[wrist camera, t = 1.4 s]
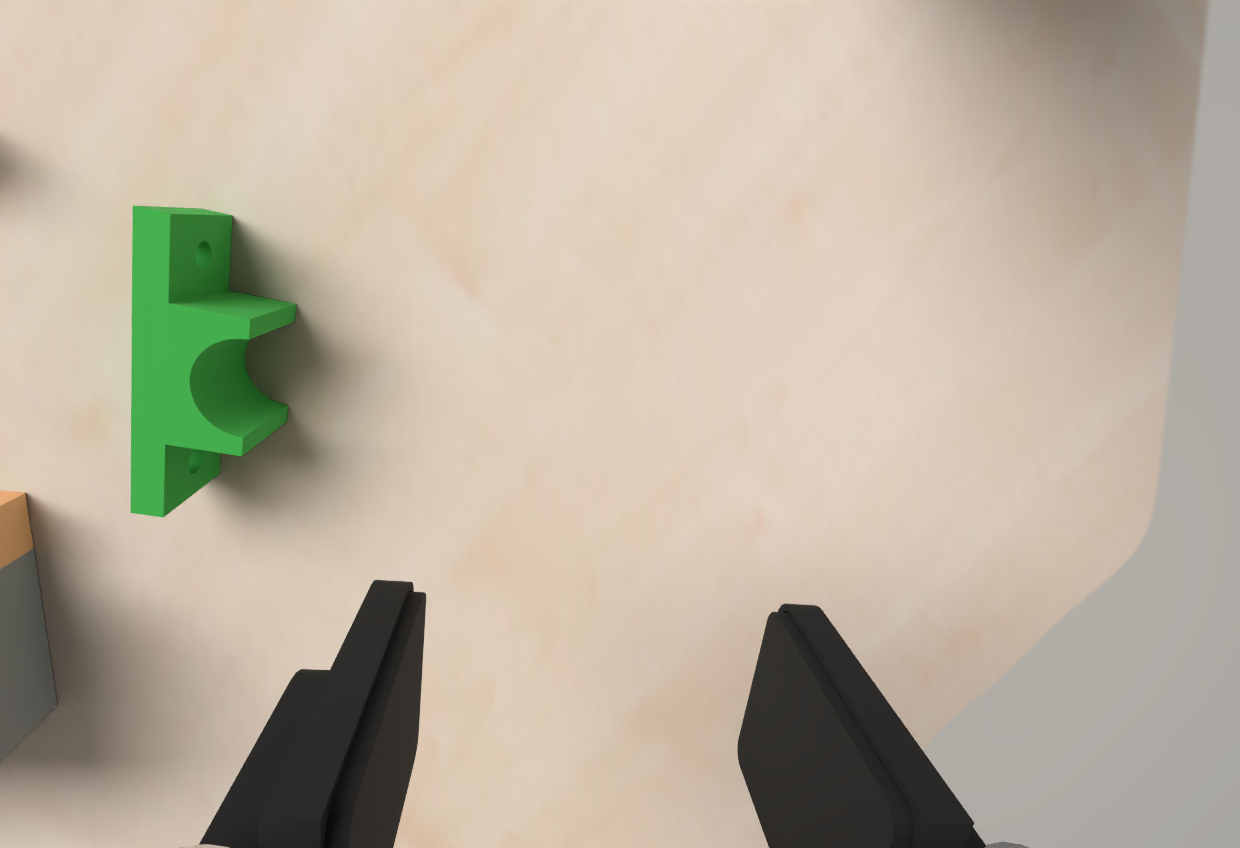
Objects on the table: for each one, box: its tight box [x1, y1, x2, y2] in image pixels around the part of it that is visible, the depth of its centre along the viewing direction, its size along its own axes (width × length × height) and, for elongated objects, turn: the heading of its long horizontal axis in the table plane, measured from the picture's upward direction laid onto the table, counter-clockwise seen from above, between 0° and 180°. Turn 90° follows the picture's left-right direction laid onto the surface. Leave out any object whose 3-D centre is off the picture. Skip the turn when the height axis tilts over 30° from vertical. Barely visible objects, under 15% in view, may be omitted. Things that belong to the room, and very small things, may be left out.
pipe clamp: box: [131, 206, 296, 517], centre depth 23 cm, size 10×4×4 cm, turn 167°
